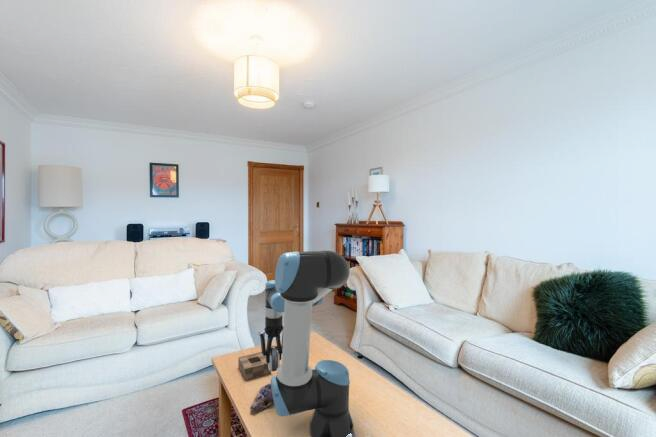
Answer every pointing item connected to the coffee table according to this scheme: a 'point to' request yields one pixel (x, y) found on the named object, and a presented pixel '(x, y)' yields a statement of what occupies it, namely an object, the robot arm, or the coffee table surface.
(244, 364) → the socket block
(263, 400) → the purple lumpy piece
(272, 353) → the pin
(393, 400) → the coffee table surface
